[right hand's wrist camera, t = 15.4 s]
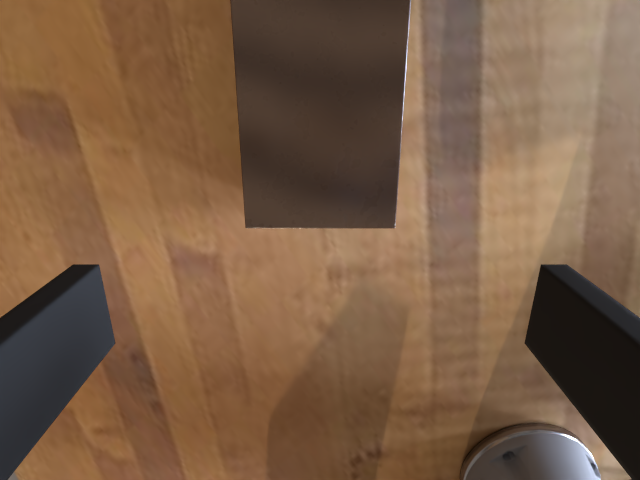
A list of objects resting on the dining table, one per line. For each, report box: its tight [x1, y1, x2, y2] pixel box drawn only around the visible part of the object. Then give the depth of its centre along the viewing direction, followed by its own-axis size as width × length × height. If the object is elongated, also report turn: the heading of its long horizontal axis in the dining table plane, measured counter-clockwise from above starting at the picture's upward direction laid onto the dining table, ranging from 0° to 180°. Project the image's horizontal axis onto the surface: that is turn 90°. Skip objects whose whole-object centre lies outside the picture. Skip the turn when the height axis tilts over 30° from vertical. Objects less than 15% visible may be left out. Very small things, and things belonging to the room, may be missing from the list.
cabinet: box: [230, 0, 411, 228], centre depth 30 cm, size 21×11×9 cm, turn 0°
